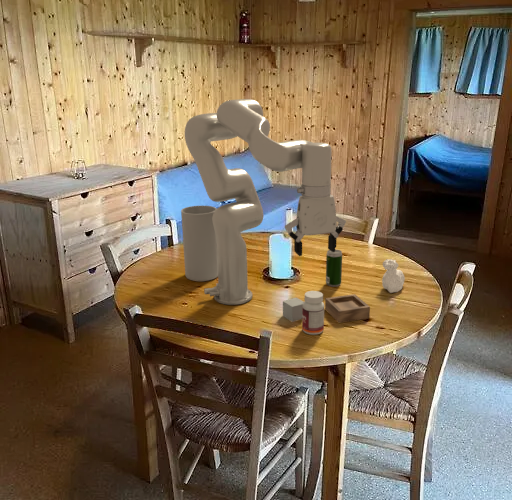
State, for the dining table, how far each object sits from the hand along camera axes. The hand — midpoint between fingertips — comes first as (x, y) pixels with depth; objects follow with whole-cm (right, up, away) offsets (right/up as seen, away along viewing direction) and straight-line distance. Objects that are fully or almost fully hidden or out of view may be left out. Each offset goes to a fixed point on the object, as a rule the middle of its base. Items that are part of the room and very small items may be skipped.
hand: (315, 252), depth 143 cm
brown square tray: (+12, -19, +17) cm, 28 cm away
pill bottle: (0, -23, +7) cm, 24 cm away
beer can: (+11, -11, +40) cm, 43 cm away
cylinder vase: (-36, -9, +50) cm, 62 cm away
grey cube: (-5, -20, +16) cm, 26 cm away
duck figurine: (+30, -13, +35) cm, 48 cm away
